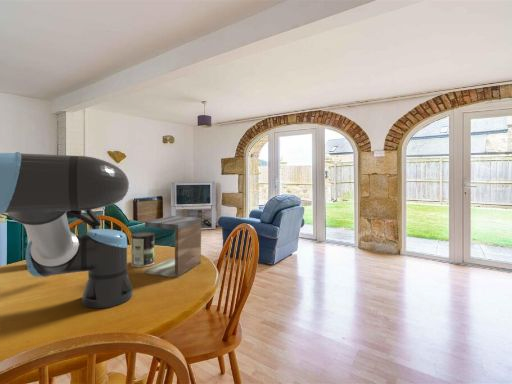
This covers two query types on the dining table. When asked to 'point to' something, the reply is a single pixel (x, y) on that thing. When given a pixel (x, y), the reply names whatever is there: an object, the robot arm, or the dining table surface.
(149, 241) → the coffee can
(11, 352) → the dining table surface
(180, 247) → the brown piece
